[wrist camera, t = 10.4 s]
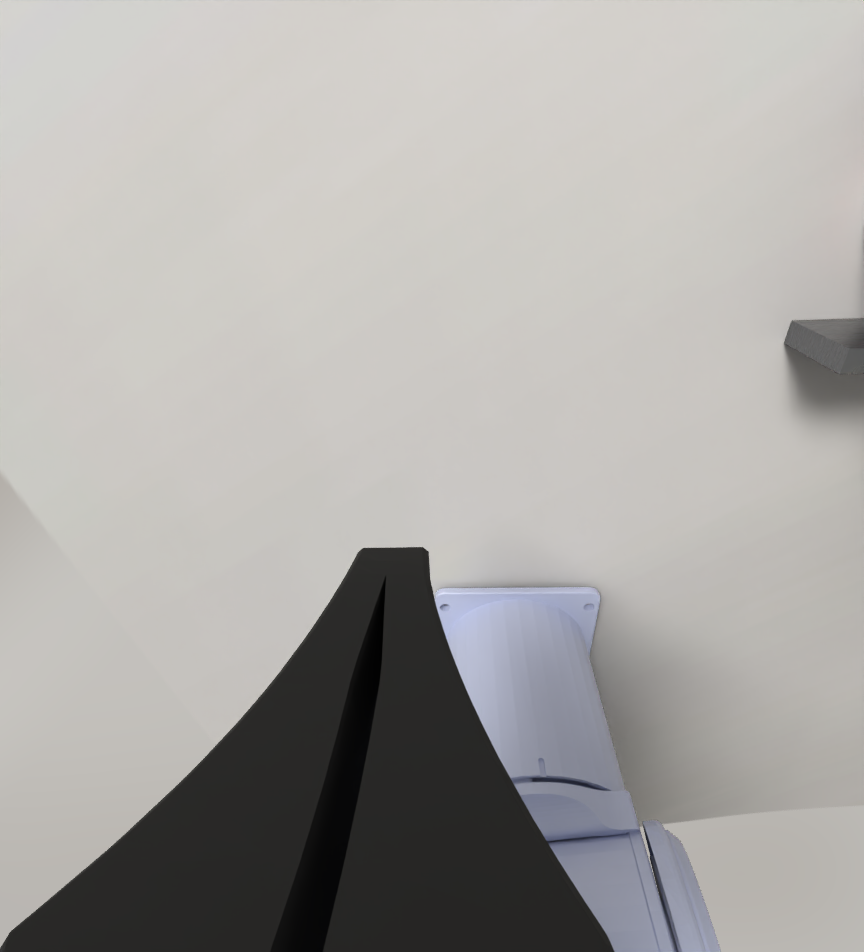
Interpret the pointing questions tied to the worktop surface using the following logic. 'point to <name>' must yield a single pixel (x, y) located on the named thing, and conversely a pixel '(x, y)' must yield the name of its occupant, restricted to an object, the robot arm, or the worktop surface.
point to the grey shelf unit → (830, 343)
